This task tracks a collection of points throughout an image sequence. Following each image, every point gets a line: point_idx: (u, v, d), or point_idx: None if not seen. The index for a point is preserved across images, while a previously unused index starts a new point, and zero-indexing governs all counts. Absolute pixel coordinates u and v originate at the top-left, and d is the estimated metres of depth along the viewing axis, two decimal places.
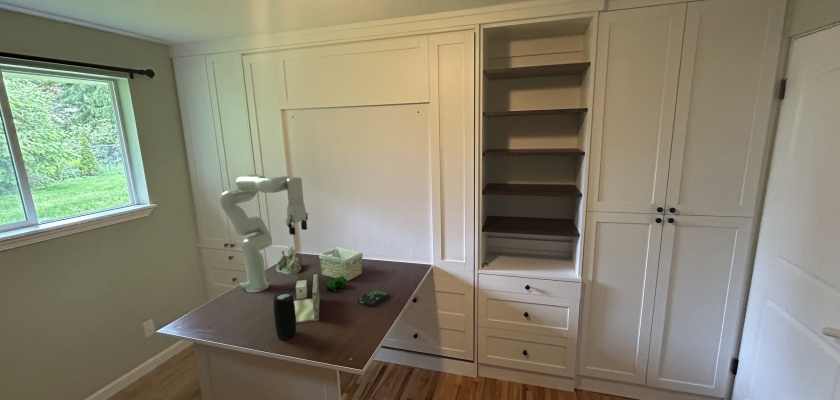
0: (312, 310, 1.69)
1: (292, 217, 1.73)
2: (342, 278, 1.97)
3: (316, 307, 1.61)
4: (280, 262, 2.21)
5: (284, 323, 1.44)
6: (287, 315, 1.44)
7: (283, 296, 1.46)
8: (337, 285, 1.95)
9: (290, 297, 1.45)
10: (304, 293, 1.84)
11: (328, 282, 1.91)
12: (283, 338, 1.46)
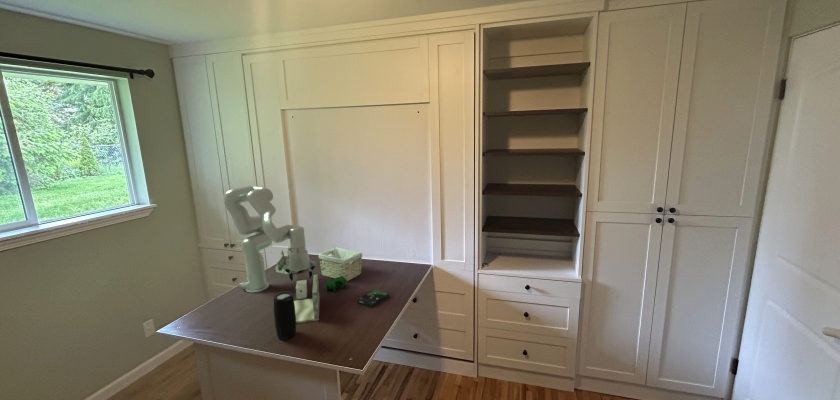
0: (312, 310, 1.69)
1: None
2: (342, 278, 1.97)
3: (316, 307, 1.61)
4: (279, 262, 2.21)
5: (284, 323, 1.44)
6: (287, 315, 1.44)
7: (283, 296, 1.46)
8: (337, 285, 1.95)
9: (290, 297, 1.45)
10: (304, 293, 1.84)
11: (328, 282, 1.91)
12: (283, 338, 1.46)
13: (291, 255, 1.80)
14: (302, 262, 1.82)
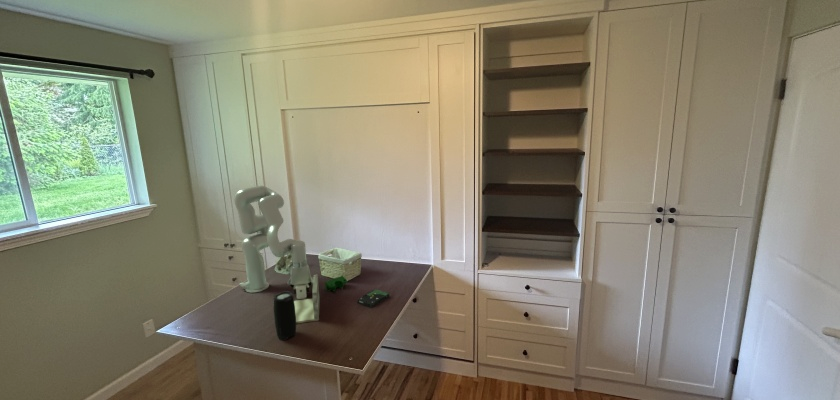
0: (312, 310, 1.69)
1: None
2: (342, 278, 1.97)
3: (316, 307, 1.61)
4: (279, 262, 2.21)
5: (284, 323, 1.44)
6: (287, 315, 1.44)
7: (283, 296, 1.46)
8: (337, 285, 1.95)
9: (290, 297, 1.45)
10: (304, 293, 1.84)
11: (328, 282, 1.91)
12: (283, 338, 1.46)
13: (292, 269, 1.82)
14: (303, 276, 1.84)
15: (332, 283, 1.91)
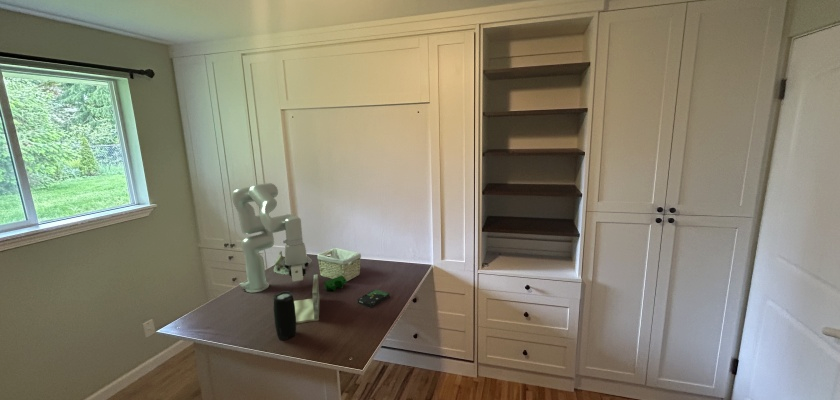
0: (312, 310, 1.69)
1: None
2: (341, 278, 1.97)
3: (316, 307, 1.61)
4: (278, 263, 2.20)
5: (284, 323, 1.44)
6: (287, 315, 1.44)
7: (283, 296, 1.46)
8: (336, 285, 1.95)
9: (290, 297, 1.45)
10: (300, 274, 1.66)
11: (327, 282, 1.92)
12: (283, 338, 1.46)
13: (287, 248, 1.64)
14: (299, 256, 1.66)
15: (332, 283, 1.91)
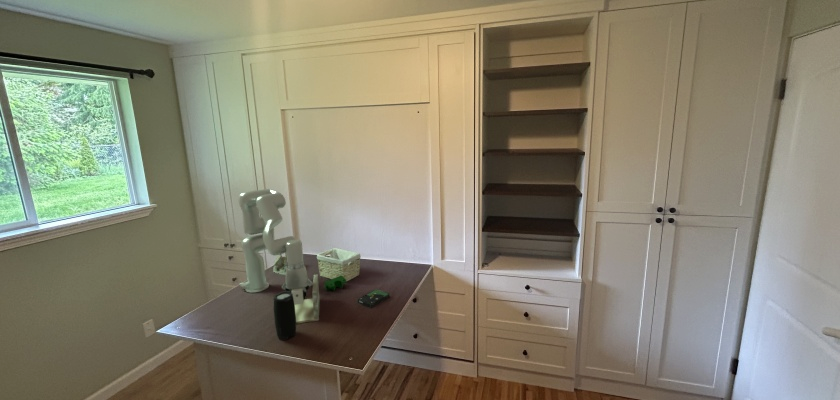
0: (312, 310, 1.69)
1: None
2: (341, 278, 1.97)
3: (316, 307, 1.61)
4: (277, 263, 2.20)
5: (284, 323, 1.44)
6: (287, 315, 1.44)
7: (283, 296, 1.46)
8: (336, 285, 1.96)
9: (290, 297, 1.45)
10: (301, 298, 1.64)
11: (327, 282, 1.92)
12: (283, 338, 1.46)
13: (287, 271, 1.62)
14: (299, 279, 1.64)
15: (332, 283, 1.91)
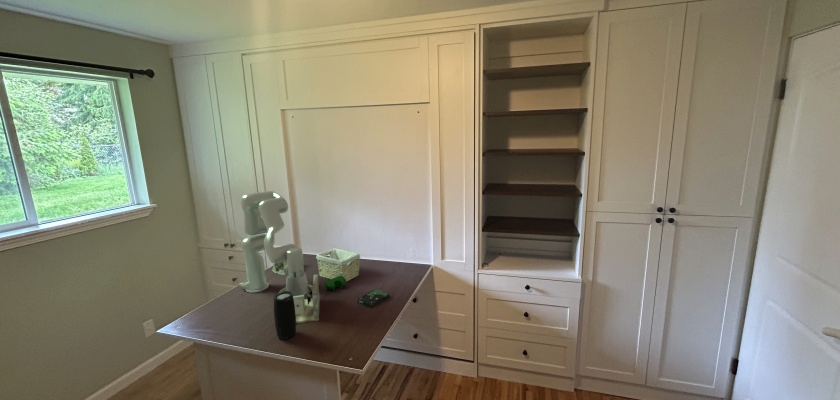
0: (312, 310, 1.69)
1: None
2: (341, 278, 1.97)
3: (316, 307, 1.61)
4: (277, 263, 2.20)
5: (284, 323, 1.44)
6: (287, 315, 1.44)
7: (283, 296, 1.46)
8: (336, 285, 1.96)
9: (290, 297, 1.45)
10: (301, 308, 1.65)
11: (327, 282, 1.92)
12: (283, 338, 1.46)
13: (288, 279, 1.63)
14: (300, 287, 1.65)
15: (331, 283, 1.91)
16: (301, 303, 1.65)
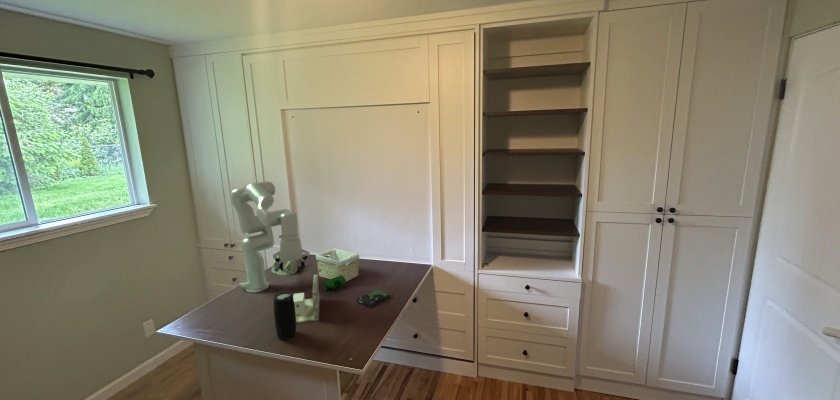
0: (312, 310, 1.69)
1: None
2: (341, 277, 1.98)
3: (316, 307, 1.61)
4: (276, 263, 2.19)
5: (284, 323, 1.44)
6: (287, 315, 1.44)
7: (283, 296, 1.46)
8: (336, 284, 1.96)
9: (290, 297, 1.45)
10: (301, 308, 1.65)
11: (327, 281, 1.92)
12: (283, 338, 1.46)
13: (282, 243, 1.63)
14: (294, 251, 1.65)
15: (331, 283, 1.92)
16: (301, 303, 1.65)
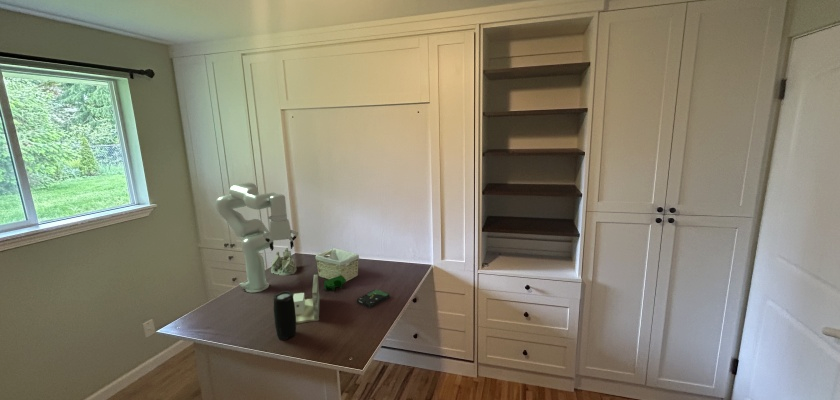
0: (312, 310, 1.69)
1: None
2: (341, 277, 1.98)
3: (316, 307, 1.61)
4: (275, 263, 2.19)
5: (284, 323, 1.44)
6: (287, 315, 1.44)
7: (283, 296, 1.46)
8: (336, 284, 1.96)
9: (290, 297, 1.45)
10: (301, 308, 1.65)
11: (327, 281, 1.92)
12: (283, 338, 1.46)
13: (271, 223, 1.74)
14: (283, 231, 1.75)
15: (331, 283, 1.92)
16: (301, 303, 1.65)
